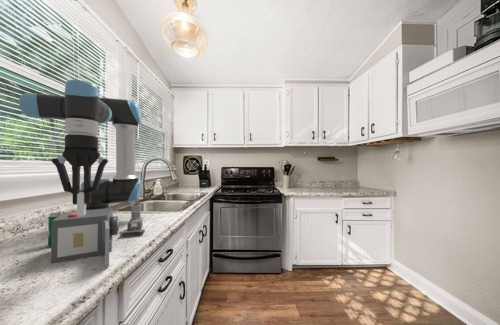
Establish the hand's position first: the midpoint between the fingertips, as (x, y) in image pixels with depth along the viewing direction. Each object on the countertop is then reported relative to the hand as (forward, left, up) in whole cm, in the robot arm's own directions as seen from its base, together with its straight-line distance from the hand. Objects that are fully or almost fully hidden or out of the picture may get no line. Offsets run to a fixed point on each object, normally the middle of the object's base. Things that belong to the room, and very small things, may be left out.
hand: (81, 214), depth 59 cm
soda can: (-27, -13, -16) cm, 33 cm away
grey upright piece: (-30, +13, -16) cm, 36 cm away
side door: (-2, +6, -15) cm, 16 cm away
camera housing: (-15, -1, -15) cm, 21 cm away
